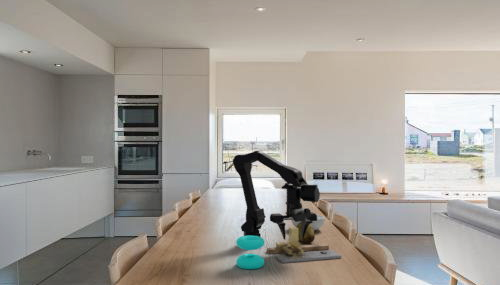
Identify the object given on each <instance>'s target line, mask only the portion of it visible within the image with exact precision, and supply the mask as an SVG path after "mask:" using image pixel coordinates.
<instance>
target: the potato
mask: <svg viewBox="0 0 500 285" xmlns="http://www.w3.org/2000/svg"><path fill="white" fill-rule="evenodd" d="M297 228H298V241H299V240H300V242H303V243H306V244H311V243H313V242H314V240H315V238H316V236H315V231H313V228H312V227H311V226H310V224H309V225H308V227H307V230H306V232H305V235H304V238H302V236H301V222H300V223H298V224H297Z"/></svg>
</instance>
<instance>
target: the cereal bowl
mask: <svg viewBox="0 0 500 285" xmlns="http://www.w3.org/2000/svg"><path fill="white" fill-rule="evenodd" d="M316 215H317V221H312V222H313V223H310V226H311V227H312V228H313V231H314V232H315V231H317V230H319V229H320V228H322V227H323V226H324V223H325V216H323V215H321V214H316ZM290 221H291V224H292V225H293V227H297V224H298V223H300V222H301V221H299V222H295V221H294V220H290Z"/></svg>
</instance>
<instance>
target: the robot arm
mask: <svg viewBox="0 0 500 285" xmlns="http://www.w3.org/2000/svg"><path fill="white" fill-rule="evenodd" d="M257 162H259V163H260V164H262V165H264V166H265V167H266V168H267V167H268V169H270V170H272V171H274V172H275V173H277V174H278V175H279V176H280V178H281V179H282V180H284V182H285V183H284V185H282V186H281V189H282V190H286V201H285V206H286V211H285V214H284V215H283V214H281V213H271V214H269V221H270V222H272V223H273V224H277V226H278V229H279V231H280V233H281V236H282V238H283V240H286V223H285V221H291V220H294V221H295V222H299V221H301V236H302V238H304V235H305V232H306V230H307V227H308V225H309V224H310V223H313V222H312V221H317V215H318V214H316V213H315V212H312V211H311V208H309V207H308V208H303V203H302V202H312V203H318V202H319V200H320V198H321V195H320V194H321V193H320V189H319V187H318V186H319V185H318V184H308V183H307V181H306V180H305V178H304V177H303V172H302V171H301V170H300V169H298V168H295V167H293V166H288V165H286V164H283V163H282V162H280V161H279V160H277V159H275V158H274V157H272V156H270V155H268V154H267V153H265V152H264V151H262V150H253V151H252V152H248V153H245V154H236V155H235V156H234V157H233V158H232V164H233V167H234V169H235V171H236V172H237V174H238V175H239V177H240V182H241V188H242V191H243V196H244V201H245V205H246V212H245V222H244V223H243V224H242V225H241V226H240V229H241V232H243V236H248V235H253V236H259V237H261V232H260V230H261V228H262V226H263V225H264V224H265V222H266V219H265V218H267V217H266V215H265V210H264V208H260V206H259V205H258V200H257V196H256V191H255V188H254V182H253V179H252V173H251V172H252V167H253V163H257ZM261 238H262V237H261Z"/></svg>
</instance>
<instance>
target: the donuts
mask: <svg viewBox="0 0 500 285" xmlns="http://www.w3.org/2000/svg"><path fill="white" fill-rule="evenodd" d="M235 243H236V245H237V247H238V248H240V249H241V250H245V251H246V250H247V251H255V250H259V249H260V248H262V247H263V246H264V245H265V240H264V238H263V237H259V236H253V235H248V236H244V235H241V236H239V237H238V238H237V239H236V241H235ZM235 263H236V265H237V266H238V268H240V269H243V270H257V269H260V268H262V267H263V266H264V264H265V259H264V258H263V257H262V255H259V254H255V253H244V254H241V255H239V256H238V257H237V259H236V261H235Z"/></svg>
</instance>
